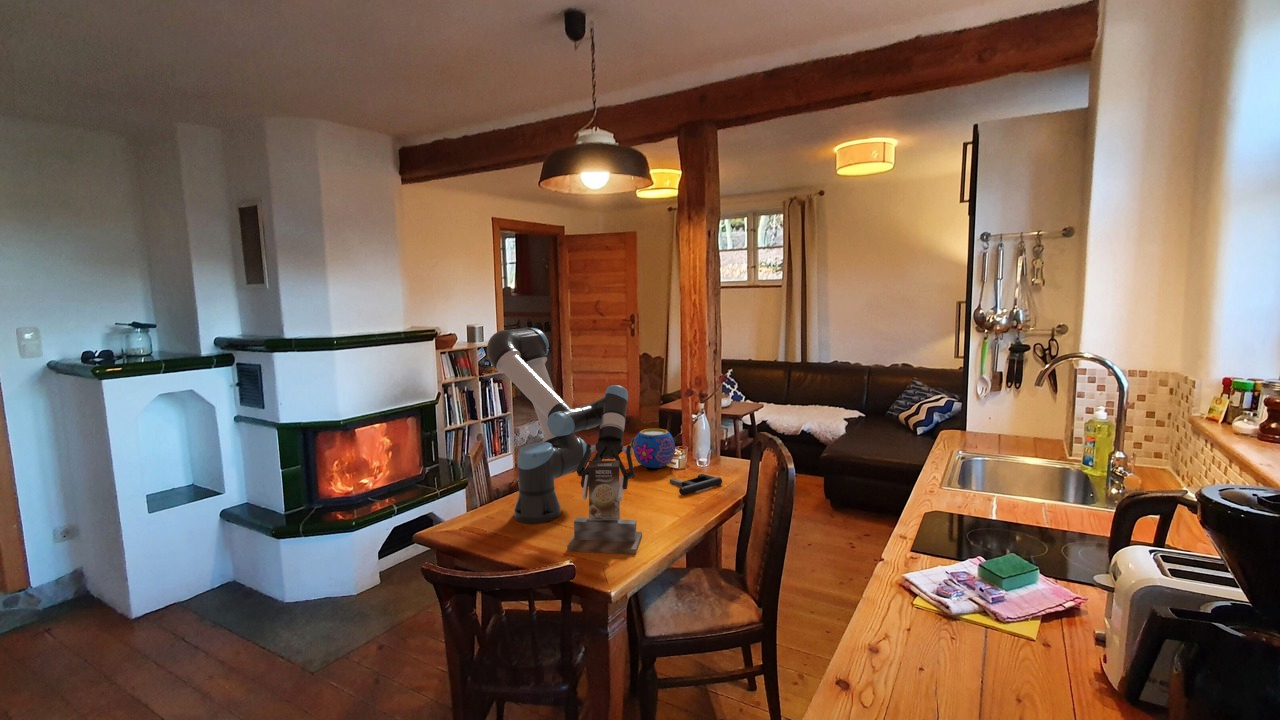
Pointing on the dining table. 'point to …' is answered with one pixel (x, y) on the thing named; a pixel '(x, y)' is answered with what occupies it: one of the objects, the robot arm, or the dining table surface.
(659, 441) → the ceramic pot
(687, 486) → the door handle
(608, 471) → the coffee box
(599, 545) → the ridge stand
